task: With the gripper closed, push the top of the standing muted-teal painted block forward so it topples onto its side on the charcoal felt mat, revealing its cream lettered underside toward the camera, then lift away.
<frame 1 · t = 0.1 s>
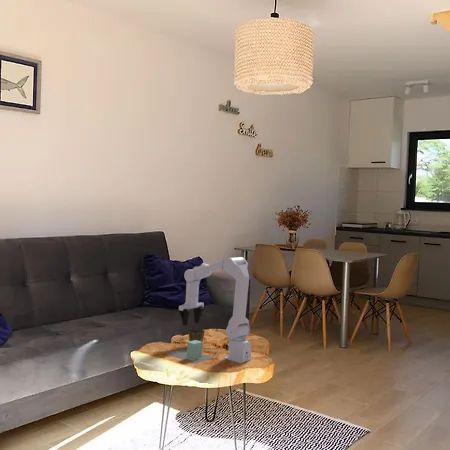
hand: (190, 324, 252), 10 cm above the table, fingers open, 7 cm apart
mat: (188, 356, 235), on the table
cup: (195, 347, 250), on the table
block: (194, 358, 232), resting on mat
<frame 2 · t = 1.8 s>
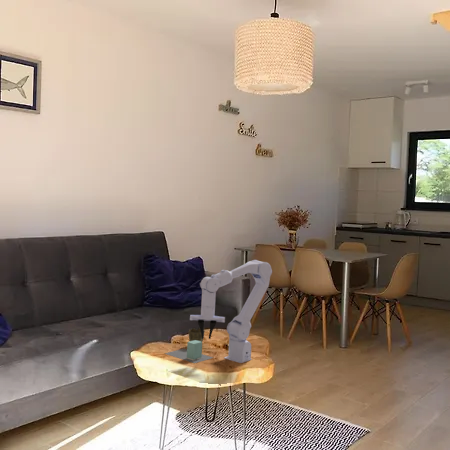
hand: (206, 338, 227), 10 cm above the table, fingers closed
nothing on the table moved.
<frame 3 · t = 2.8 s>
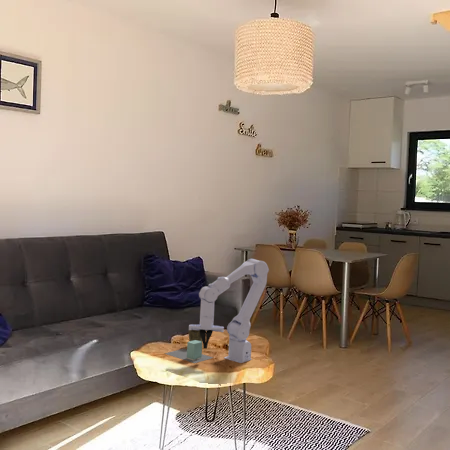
hand: (205, 347, 227), 6 cm above the table, fingers closed
nothing on the table moved.
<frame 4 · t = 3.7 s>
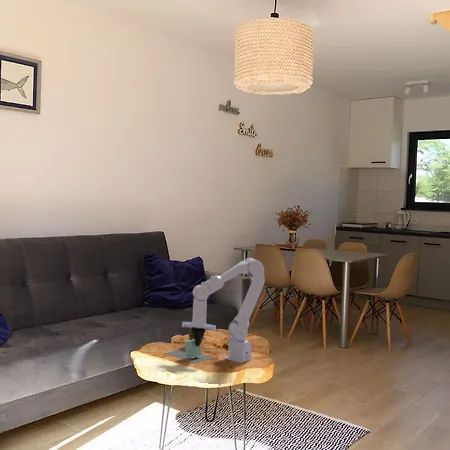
hand: (197, 345, 230), 6 cm above the table, fingers closed
block: (194, 356, 232), point 1 cm above the table, tilted 14°, touching mat
everything else where it was.
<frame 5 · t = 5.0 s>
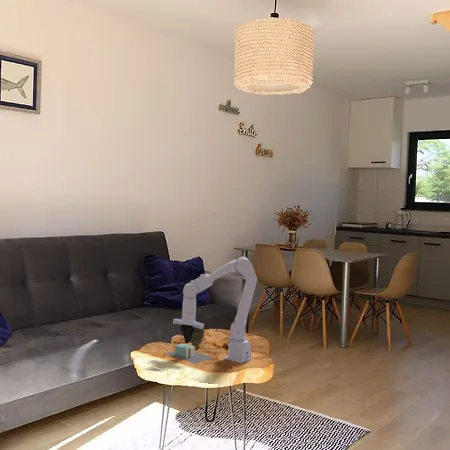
hand: (187, 342, 234), 6 cm above the table, fingers closed
block: (190, 352, 233), point 2 cm above the table, tilted 90°, touching mat
everything else where it was.
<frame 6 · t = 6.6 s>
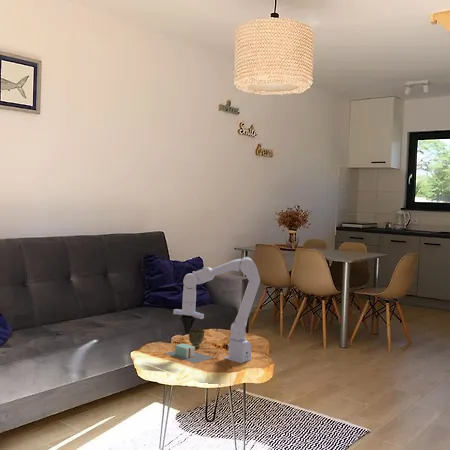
hand: (187, 332, 234), 10 cm above the table, fingers closed
nothing on the table moved.
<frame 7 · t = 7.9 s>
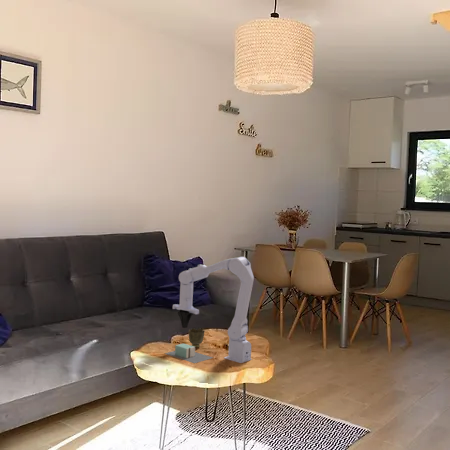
hand: (184, 327, 243), 10 cm above the table, fingers closed
nothing on the table moved.
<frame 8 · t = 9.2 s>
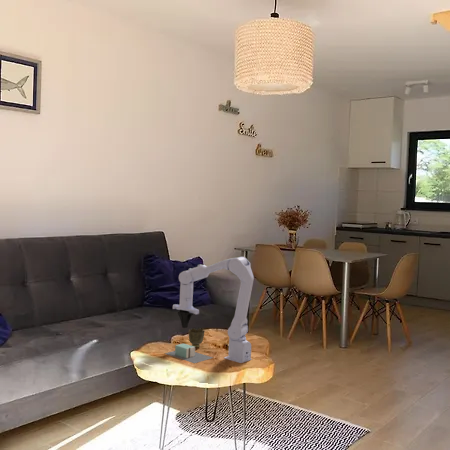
hand: (184, 327, 243), 10 cm above the table, fingers closed
nothing on the table moved.
at the end: block tilted 90°; block inside the target area (3.5 cm from its centre), point 2.4 cm above the table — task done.
